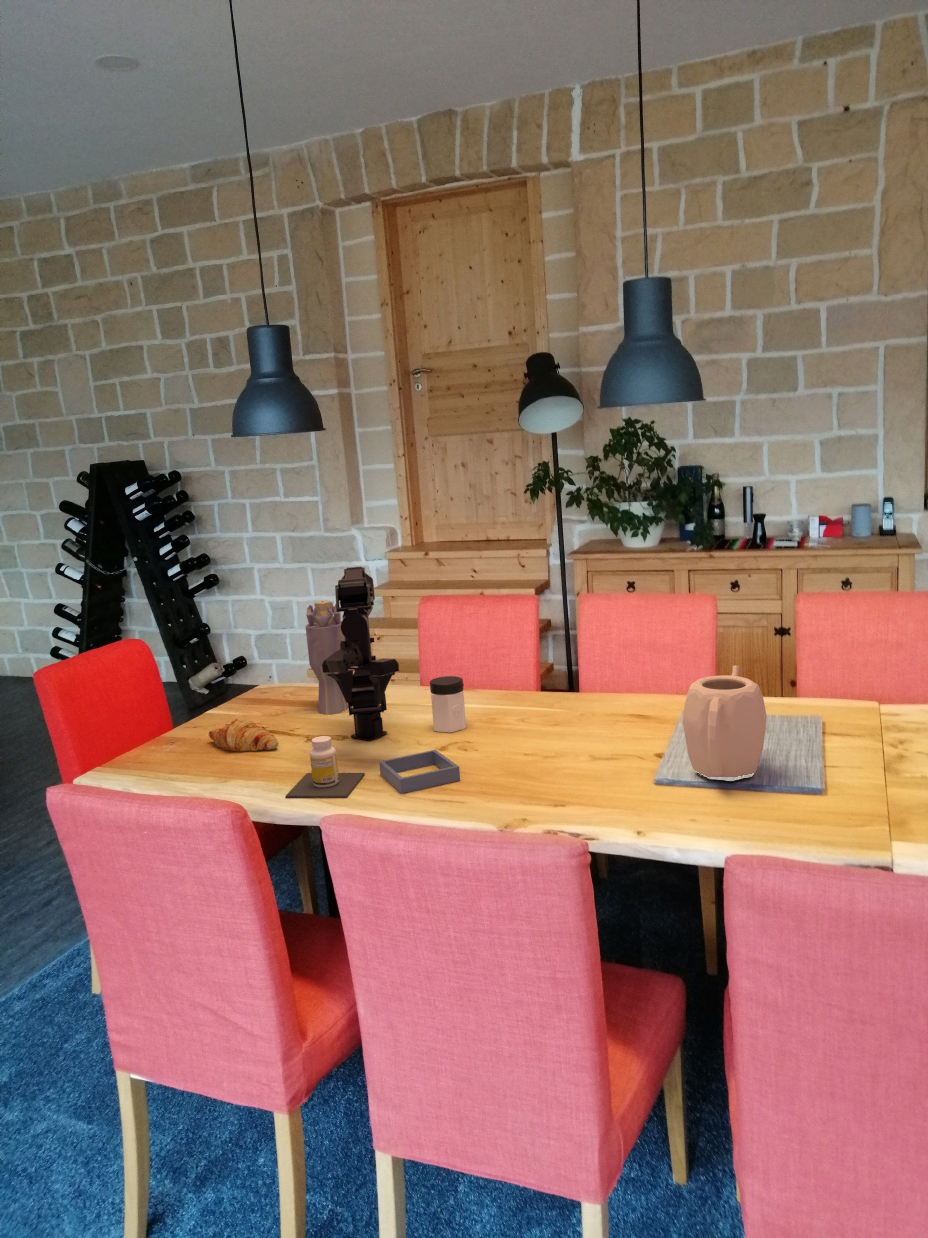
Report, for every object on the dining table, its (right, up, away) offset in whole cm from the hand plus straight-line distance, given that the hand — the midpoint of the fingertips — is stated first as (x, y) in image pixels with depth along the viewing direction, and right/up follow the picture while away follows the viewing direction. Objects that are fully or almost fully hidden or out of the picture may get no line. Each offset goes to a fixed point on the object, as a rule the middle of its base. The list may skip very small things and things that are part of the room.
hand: (363, 703), depth 209 cm
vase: (-13, -6, +43) cm, 45 cm away
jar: (+19, -8, +19) cm, 28 cm away
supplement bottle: (-6, -16, -14) cm, 22 cm away
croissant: (-31, -12, +16) cm, 37 cm away
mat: (-6, -16, -15) cm, 22 cm away
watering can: (+75, -12, -22) cm, 80 cm away
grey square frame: (+13, -14, -13) cm, 24 cm away
